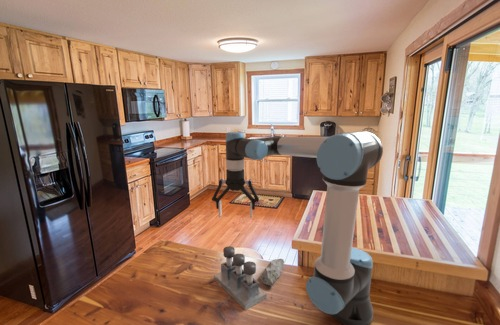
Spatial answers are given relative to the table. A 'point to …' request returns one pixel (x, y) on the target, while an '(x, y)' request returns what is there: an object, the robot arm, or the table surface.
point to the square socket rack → (239, 286)
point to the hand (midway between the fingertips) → (235, 216)
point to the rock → (272, 271)
